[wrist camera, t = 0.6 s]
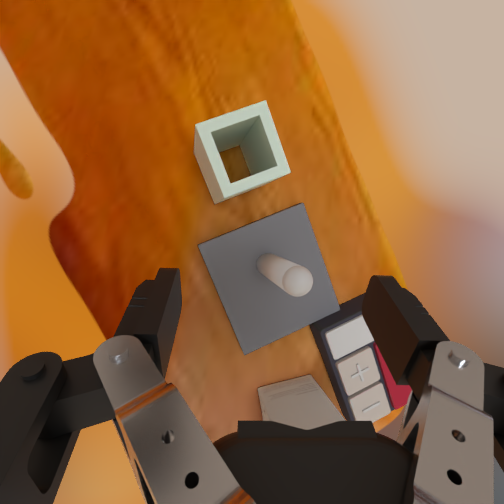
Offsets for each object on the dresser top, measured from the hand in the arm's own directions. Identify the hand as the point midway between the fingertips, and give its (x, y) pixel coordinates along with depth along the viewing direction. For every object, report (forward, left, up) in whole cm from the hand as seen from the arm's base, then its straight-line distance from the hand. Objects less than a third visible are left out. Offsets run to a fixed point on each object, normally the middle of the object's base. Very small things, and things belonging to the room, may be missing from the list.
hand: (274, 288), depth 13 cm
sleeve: (-8, +4, -23) cm, 24 cm away
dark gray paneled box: (+21, +12, -23) cm, 33 cm away
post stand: (+6, +4, -22) cm, 24 cm away
